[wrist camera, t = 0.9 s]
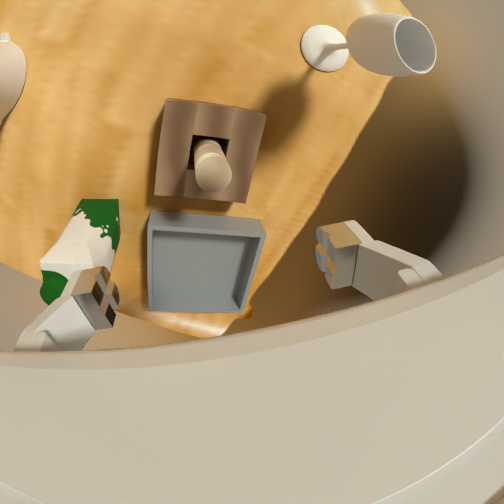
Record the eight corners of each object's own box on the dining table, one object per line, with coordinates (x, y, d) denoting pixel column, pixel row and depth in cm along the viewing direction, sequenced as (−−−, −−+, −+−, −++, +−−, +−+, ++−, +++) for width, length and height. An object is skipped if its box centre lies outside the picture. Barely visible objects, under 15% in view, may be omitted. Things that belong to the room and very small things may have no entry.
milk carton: (76, 194, 39) (28, 268, 23) (124, 194, 41) (93, 271, 26) (82, 237, 44) (48, 319, 28) (126, 238, 46) (106, 324, 30)
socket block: (157, 182, 42) (154, 195, 38) (168, 98, 34) (165, 100, 30) (239, 190, 46) (245, 203, 42) (258, 111, 38) (267, 115, 34)
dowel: (191, 156, 40) (193, 190, 29) (195, 132, 38) (198, 156, 27) (216, 159, 42) (228, 193, 31) (220, 135, 39) (235, 161, 28)
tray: (150, 293, 55) (148, 310, 51) (150, 210, 44) (147, 225, 40) (238, 296, 61) (242, 312, 57) (259, 219, 50) (266, 233, 46)
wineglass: (292, 57, 33) (373, 51, 17) (312, 16, 29) (398, -8, 13) (337, 80, 37) (428, 98, 20) (354, 41, 33) (449, 43, 16)
